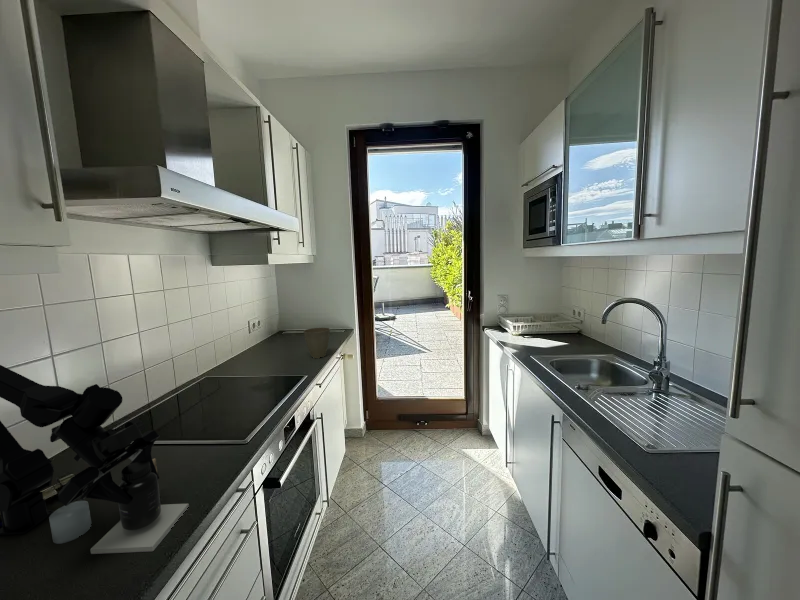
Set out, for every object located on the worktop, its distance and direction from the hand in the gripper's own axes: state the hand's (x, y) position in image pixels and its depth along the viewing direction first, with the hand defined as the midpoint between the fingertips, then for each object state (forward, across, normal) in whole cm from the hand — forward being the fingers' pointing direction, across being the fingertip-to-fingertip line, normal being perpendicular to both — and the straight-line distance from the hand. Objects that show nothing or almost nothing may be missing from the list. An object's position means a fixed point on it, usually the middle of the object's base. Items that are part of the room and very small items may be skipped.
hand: (144, 490), depth 73 cm
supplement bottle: (+4, 0, +6) cm, 7 cm away
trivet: (+5, 0, +7) cm, 9 cm away
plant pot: (+2, +129, +10) cm, 129 cm away
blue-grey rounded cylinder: (-5, -2, +18) cm, 18 cm away
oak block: (-4, +16, +17) cm, 23 cm away
